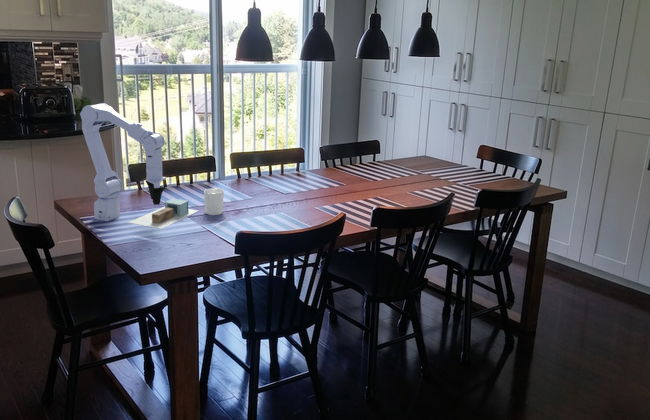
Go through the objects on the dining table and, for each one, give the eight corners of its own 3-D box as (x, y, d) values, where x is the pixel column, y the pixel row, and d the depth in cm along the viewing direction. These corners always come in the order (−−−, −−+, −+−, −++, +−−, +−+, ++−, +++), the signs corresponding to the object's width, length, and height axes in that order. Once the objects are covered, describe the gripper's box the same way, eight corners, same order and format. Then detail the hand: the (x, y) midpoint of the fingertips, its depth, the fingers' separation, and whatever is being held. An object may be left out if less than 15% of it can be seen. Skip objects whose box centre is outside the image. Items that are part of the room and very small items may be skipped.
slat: (158, 223, 230) (158, 215, 229) (152, 222, 231) (151, 213, 230) (173, 216, 239) (173, 208, 238) (167, 215, 240) (167, 207, 239)
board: (161, 230, 225) (161, 228, 225) (127, 224, 230) (127, 222, 229) (198, 212, 248) (198, 210, 248) (167, 207, 253) (167, 205, 253)
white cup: (214, 210, 252) (214, 187, 250) (227, 214, 248) (227, 191, 245) (200, 214, 247) (199, 190, 244) (212, 218, 242) (212, 194, 239)
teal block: (180, 216, 239) (179, 204, 238) (165, 214, 242) (164, 202, 240) (188, 212, 245) (188, 200, 243) (173, 210, 247) (173, 198, 245)
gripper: (168, 170, 219) (168, 206, 223) (162, 161, 232) (163, 195, 236) (147, 171, 216) (149, 207, 220) (143, 162, 229) (144, 196, 233)
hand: (155, 201), depth 228 cm, fingers open, 7 cm apart
